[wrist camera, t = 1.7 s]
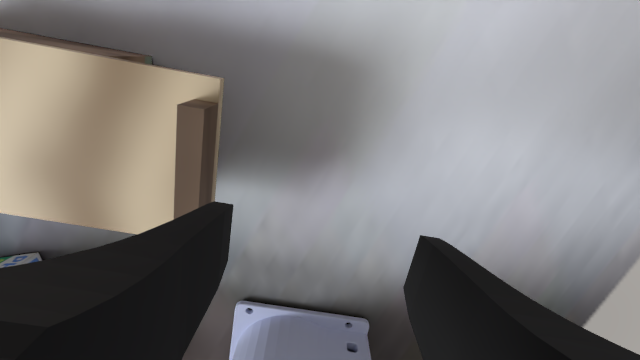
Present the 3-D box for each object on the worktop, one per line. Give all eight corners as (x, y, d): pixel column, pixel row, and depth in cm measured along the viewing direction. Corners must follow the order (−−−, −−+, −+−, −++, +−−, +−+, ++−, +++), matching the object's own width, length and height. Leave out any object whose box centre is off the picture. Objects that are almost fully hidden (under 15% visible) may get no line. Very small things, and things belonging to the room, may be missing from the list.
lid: (224, 78, 14) (205, 81, 12) (211, 239, 17) (194, 266, 15) (-20, 32, 14) (-87, 27, 11) (8, 207, 16) (-42, 230, 14)
